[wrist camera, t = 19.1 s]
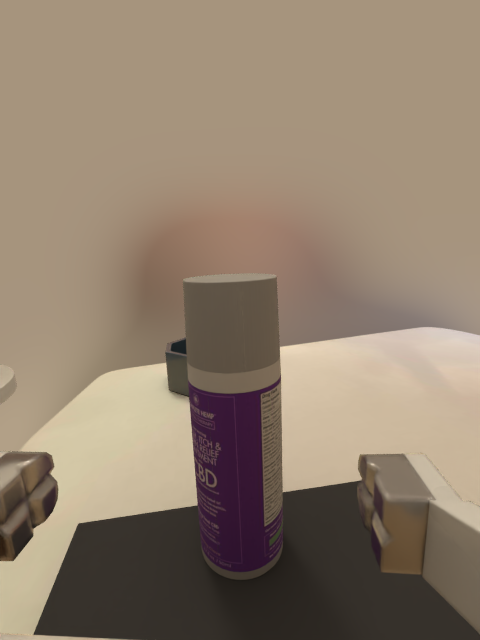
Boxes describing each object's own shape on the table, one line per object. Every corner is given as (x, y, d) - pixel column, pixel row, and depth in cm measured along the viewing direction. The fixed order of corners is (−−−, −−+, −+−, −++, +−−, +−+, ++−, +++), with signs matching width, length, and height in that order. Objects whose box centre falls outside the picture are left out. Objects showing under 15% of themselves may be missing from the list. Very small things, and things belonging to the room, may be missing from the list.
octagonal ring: (167, 399, 38) (163, 358, 37) (171, 371, 47) (168, 338, 46) (245, 391, 39) (243, 351, 38) (234, 365, 48) (233, 333, 47)
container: (184, 561, 18) (159, 282, 14) (223, 500, 22) (210, 273, 19) (267, 595, 16) (258, 282, 12) (292, 521, 20) (290, 273, 17)
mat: (-136, 1072, 7) (-142, 1062, 7) (78, 528, 20) (78, 523, 20) (688, 785, 10) (691, 777, 10) (400, 479, 24) (400, 474, 23)
